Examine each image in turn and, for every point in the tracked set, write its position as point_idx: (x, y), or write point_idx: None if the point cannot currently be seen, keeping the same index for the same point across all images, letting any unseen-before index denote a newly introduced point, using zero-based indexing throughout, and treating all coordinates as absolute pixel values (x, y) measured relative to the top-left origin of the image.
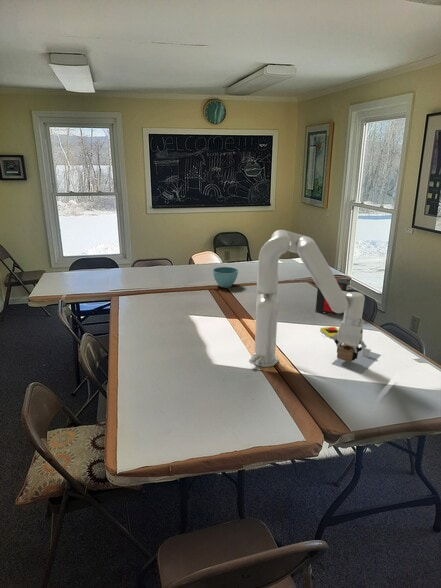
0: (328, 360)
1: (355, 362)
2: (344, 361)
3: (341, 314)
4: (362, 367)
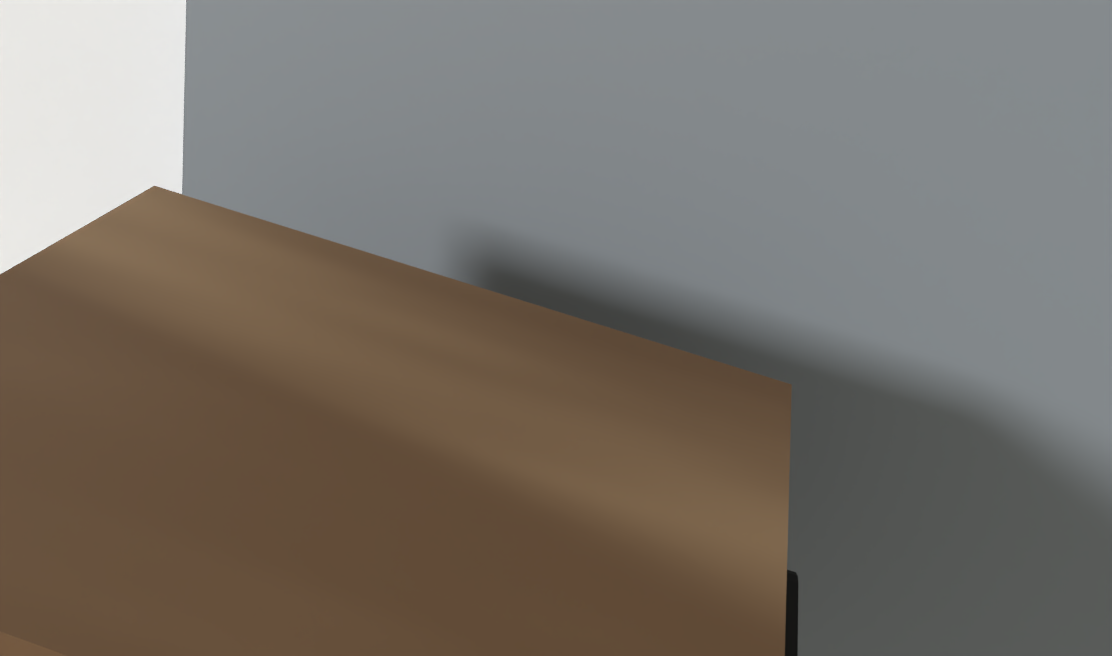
0: (26, 226)
1: (802, 302)
2: None
3: None
4: (1069, 582)
